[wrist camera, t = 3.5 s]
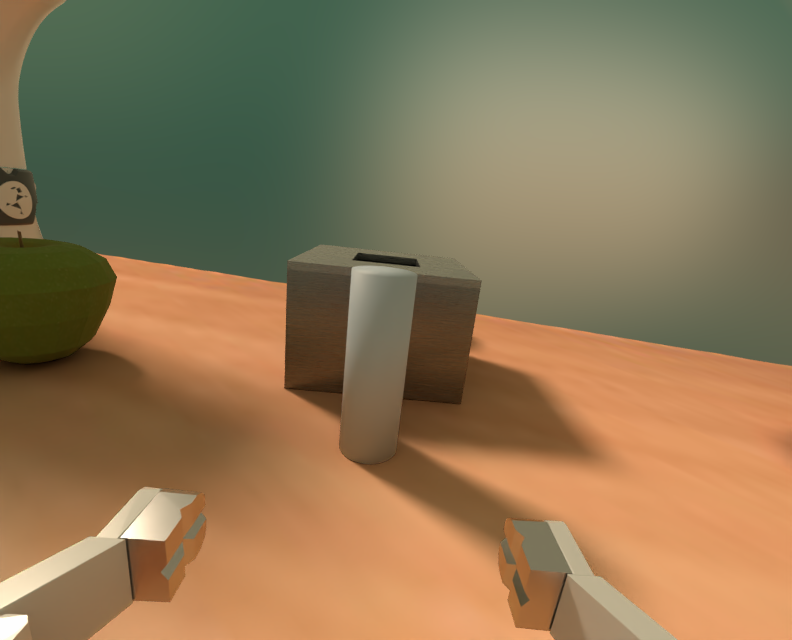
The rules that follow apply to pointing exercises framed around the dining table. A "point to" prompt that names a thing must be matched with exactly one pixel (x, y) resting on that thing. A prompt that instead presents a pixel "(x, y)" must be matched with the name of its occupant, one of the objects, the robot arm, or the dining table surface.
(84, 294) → the apple
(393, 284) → the grey rounded cylinder
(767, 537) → the dining table surface
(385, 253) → the grey square box
